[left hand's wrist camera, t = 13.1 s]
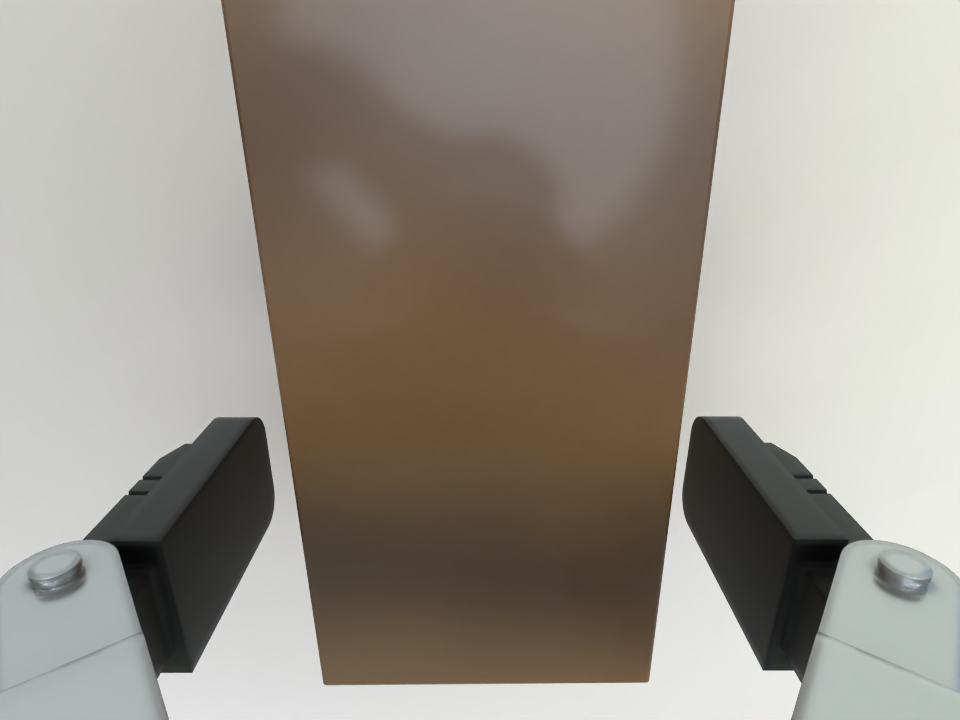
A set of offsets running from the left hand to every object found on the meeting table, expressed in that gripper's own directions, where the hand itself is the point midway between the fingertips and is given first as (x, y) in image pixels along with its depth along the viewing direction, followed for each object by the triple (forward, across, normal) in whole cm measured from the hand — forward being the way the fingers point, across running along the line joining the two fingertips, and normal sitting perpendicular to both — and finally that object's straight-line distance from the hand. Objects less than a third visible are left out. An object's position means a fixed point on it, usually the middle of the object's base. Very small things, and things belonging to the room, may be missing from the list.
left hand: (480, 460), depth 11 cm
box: (+7, 0, +10) cm, 13 cm away
